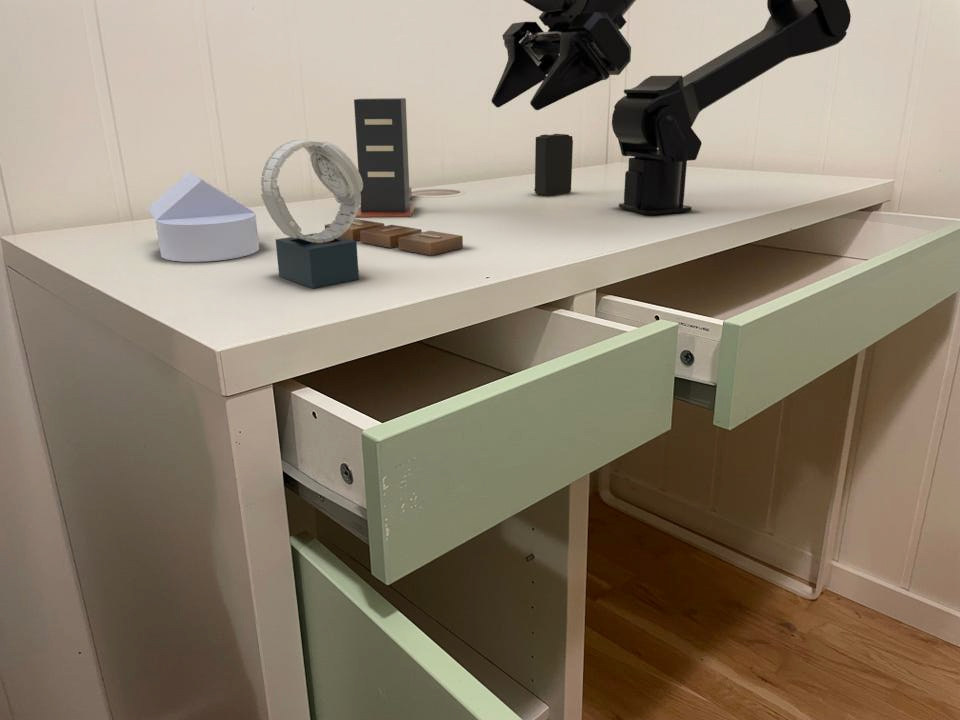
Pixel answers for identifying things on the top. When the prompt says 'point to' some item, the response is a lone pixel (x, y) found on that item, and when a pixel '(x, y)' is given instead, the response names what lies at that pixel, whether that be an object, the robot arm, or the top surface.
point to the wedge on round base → (203, 223)
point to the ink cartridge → (553, 164)
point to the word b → (386, 214)
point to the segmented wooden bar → (402, 237)
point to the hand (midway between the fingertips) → (512, 105)
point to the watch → (323, 252)
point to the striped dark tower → (382, 154)
